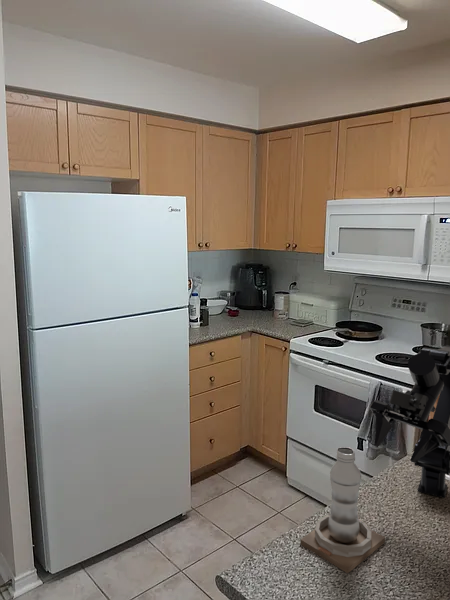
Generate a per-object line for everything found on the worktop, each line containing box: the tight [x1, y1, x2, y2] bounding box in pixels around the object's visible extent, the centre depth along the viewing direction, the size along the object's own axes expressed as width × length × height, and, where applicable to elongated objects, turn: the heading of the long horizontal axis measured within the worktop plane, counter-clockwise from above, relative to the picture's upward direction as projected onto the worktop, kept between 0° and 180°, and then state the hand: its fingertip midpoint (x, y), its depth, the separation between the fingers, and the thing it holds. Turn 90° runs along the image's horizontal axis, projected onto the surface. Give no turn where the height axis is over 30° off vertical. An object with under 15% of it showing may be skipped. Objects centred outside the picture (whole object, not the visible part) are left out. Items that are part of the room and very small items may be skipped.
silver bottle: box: [328, 446, 362, 543], centre depth 102 cm, size 6×7×20 cm
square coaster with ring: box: [299, 514, 386, 574], centre depth 103 cm, size 14×12×3 cm
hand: (393, 453), depth 107 cm, fingers open, 9 cm apart
